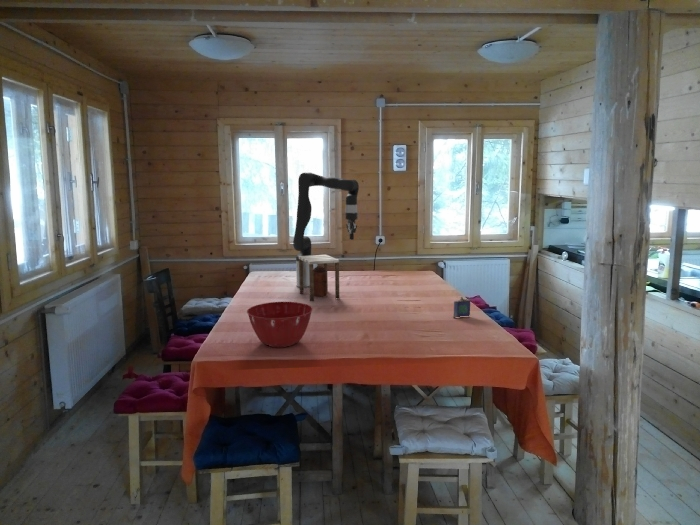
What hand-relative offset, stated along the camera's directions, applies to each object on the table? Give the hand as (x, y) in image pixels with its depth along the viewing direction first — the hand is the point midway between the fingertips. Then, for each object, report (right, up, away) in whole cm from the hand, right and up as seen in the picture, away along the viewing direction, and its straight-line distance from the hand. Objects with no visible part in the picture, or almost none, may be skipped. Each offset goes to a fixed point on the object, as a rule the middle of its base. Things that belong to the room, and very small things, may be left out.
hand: (351, 239), depth 345 cm
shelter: (-20, -35, -9) cm, 41 cm away
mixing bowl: (-32, -50, -103) cm, 119 cm away
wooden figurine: (-20, -35, -7) cm, 41 cm away
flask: (+56, -43, -62) cm, 95 cm away
